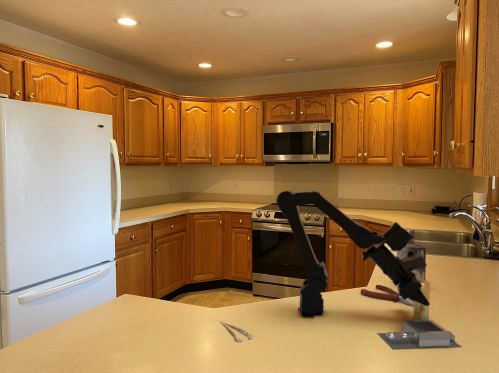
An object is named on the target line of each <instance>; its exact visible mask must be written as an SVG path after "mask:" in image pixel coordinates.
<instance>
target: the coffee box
mask: <svg viewBox="0 0 499 373" xmlns="http://www.w3.org/2000/svg"><path fill="white" fill-rule="evenodd" d="M426 249H427V248H426V246H425V247H424V246H423V245H421V244H407V245H406V246H405V247H404V248H403V249H401V250H400V251H398V250H397V251H396V257H399V258H400V259H403V258H405V257H407V251H410V250H412V251H413V252H414V253H417V252H418V253H421V254H422V256H423V258H424V260H425V262H426V261H427V260H426V258H427V256H426V255H427V250H426ZM426 263H427V262H426ZM426 270H427V266H426V267H424V268H422V267H421V268H418V269H416V270H412V271H411V272H412V273H414V274H415V275H416V278H417V279H418V280H426V278H427V277H426ZM426 281H427V280H426ZM399 284H400V283H399ZM399 284H398V285H397V287H398V286H399Z"/></svg>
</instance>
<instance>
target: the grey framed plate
mask: <svg viewBox="0 0 499 373" xmlns="http://www.w3.org/2000/svg"><path fill="white" fill-rule="evenodd" d="M385 333H386V339H387V340H388V341H389V342H390V343H391V344H395V343H414V344H416V345H417V346H418V347H419V348H423V347H450V342H456V339H455V338H456V336H455V334H453V332H452V331H450V330H447V329H446V328H444V327H443V326H441V325H440V324H439V323H437V322H435V321H434V320H432V319H429V320H414V319H409V320H402V331H397V332H396V331H393V332H391V331H389V332H385Z"/></svg>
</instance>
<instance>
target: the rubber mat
mask: <svg viewBox="0 0 499 373" xmlns="http://www.w3.org/2000/svg"><path fill="white" fill-rule="evenodd" d="M386 333H387V332H378V333H376V334H377V335H378V337H379V338H381V339H382V341H384V343H385V344H386V345H387V346H389V348H391V349H392V350H394V351H395V350H398V351H399V350H420V349H421V350H424V349H427V350H429V349H453V348H463V345H462V346H461V344H459V343H458V342H456V341H455V342H450V347H423V348H419V347H418V346H417V345H416V344H414V343H395V344H391V343H390V342H389V341H388V340H387V339H386Z"/></svg>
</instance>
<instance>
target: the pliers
mask: <svg viewBox="0 0 499 373" xmlns="http://www.w3.org/2000/svg"><path fill="white" fill-rule="evenodd" d="M377 289H378V290H377ZM375 290H377V291H380V290H381V292H376V291H371V290H368V289H365V288H361V289H360V295H362V296H364V297H366V296H367V298H370V299H374V298H375V299H376V300H383V301H388V302H390V301H391V302H393V303H394V304H397V303H398V302H399V303H402V304H404V305H408V306H413V307H414V300H412V299H409V298H407V299H405V300H404V299H403V298H402V297H401V296H400V295H399V293H398V291H395V290H394V289H392V288H391V287H388V286H385V285H382V284H376V285H375ZM386 292H387V293H386ZM388 293H389V294H388ZM375 299H374V300H375Z"/></svg>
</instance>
